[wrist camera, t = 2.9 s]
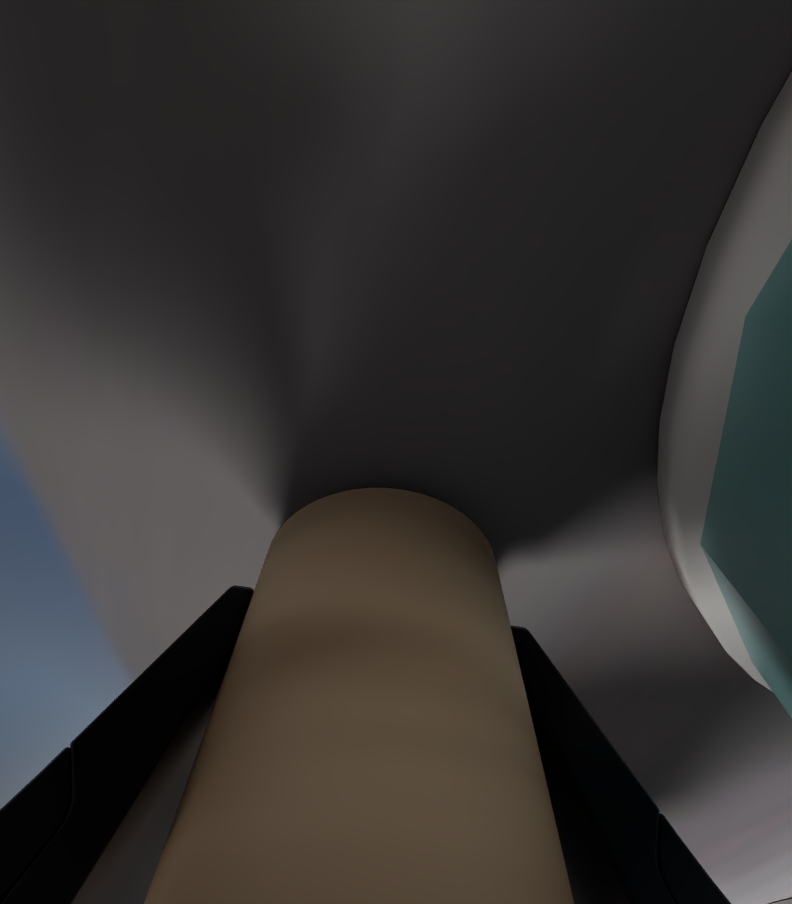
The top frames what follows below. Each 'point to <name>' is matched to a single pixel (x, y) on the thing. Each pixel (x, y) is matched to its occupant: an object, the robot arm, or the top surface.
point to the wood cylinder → (369, 727)
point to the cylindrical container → (784, 902)
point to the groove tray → (738, 419)
